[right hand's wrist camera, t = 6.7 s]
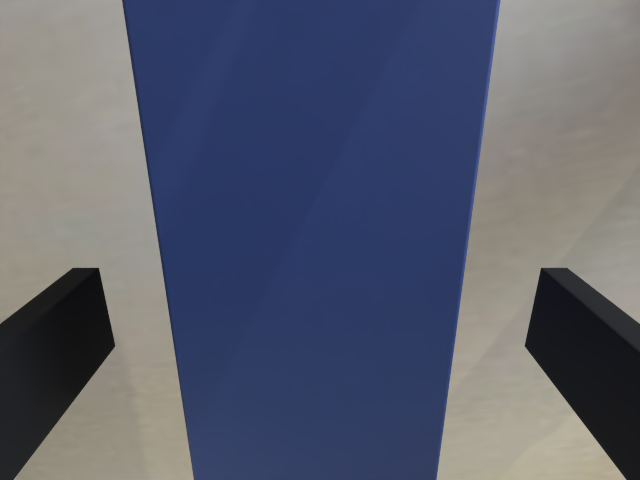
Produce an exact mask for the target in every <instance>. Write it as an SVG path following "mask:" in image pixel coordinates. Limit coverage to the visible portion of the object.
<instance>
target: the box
mask: <svg viewBox="0 0 640 480" xmlns="http://www.w3.org/2000/svg"><path fill="white" fill-rule="evenodd" d="M122 2H123V9H124V15H125V22H126V29H127V35H128V42H129V49H130V55H131V62H132V69H133V75H134V82H135V89H136V96H137V102H138V109H139V116H140V122H141V129H142V136H143V142H144V149H145V156H146V162H147V169H148V176H149V182H150V189H151V196H152V202H153V209H154V216H155V222H156V229H157V236H158V242H159V249H160V256H161V262H162V269H163V276H164V282H165V289H166V296H167V302H168V309H169V316H170V322H171V329H172V336H173V342H174V349H175V356H176V362H177V369H178V376H179V382H180V389H181V396H182V402H183V409H184V416H185V422H186V429H187V436H188V442H189V449H190V456H191V462H192V469H193V476H194V480H436V479H437V471H438V464H439V456H440V449H441V441H442V434H443V426H444V419H445V411H446V404H447V396H448V389H449V381H450V374H451V366H452V359H453V351H454V344H455V336H456V329H457V321H458V314H459V306H460V299H461V291H462V284H463V276H464V269H465V261H466V254H467V246H468V239H469V231H470V224H471V216H472V209H473V201H474V194H475V186H476V179H477V171H478V164H479V156H480V149H481V141H482V134H483V126H484V119H485V111H486V104H487V96H488V89H489V81H490V74H491V66H492V59H493V51H494V44H495V36H496V29H497V21H498V14H499V6H500V0H122Z"/></svg>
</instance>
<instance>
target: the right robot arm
mask: <svg viewBox="0 0 640 480" xmlns="http://www.w3.org/2000/svg"><path fill="white" fill-rule="evenodd" d="M114 347H115V343H114V338H113V333H112V328H111V324H110V319H109V314H108V309H107V305H106V300H105V295H104V290H103V286H102V281H101V276H100V271H99V268H72V269H71V270H70V271H68V272H67V273H66V274H64V275H63V276H62V277H61V278H59V279H58V280H57V281H55V282H54V283H53V284H52V285H50V286H49V287H48V288H46V289H45V290H44V291H42V292H41V293H40V294H39V295H37V296H36V297H35V298H33V299H32V300H31V301H29V302H28V303H27V304H26V305H24V306H23V307H22V308H20V309H19V310H18V311H17V312H15V313H14V314H13V315H11V316H10V317H9V318H7V319H6V320H5V321H4V322H2V323H1V324H0V480H14V478H15V477H16V476H17V474H18V473H19V472H20V470H21V469H22V468H23V466H24V465H25V464H26V462H27V461H28V460H29V459H30V457H31V456H32V455H33V453H34V452H35V451H36V449H37V448H38V447H39V445H40V444H41V443H42V441H43V440H44V439H45V438H46V436H47V435H48V434H49V432H50V431H51V430H52V428H53V427H54V426H55V424H56V423H57V422H58V421H59V419H60V418H61V417H62V415H63V414H64V413H65V411H66V410H67V409H68V407H69V406H70V405H71V403H72V402H73V401H74V400H75V398H76V397H77V396H78V394H79V393H80V392H81V390H82V389H83V388H84V386H85V385H86V384H87V382H88V381H89V380H90V379H91V377H92V376H93V375H94V373H95V372H96V371H97V369H98V368H99V367H100V365H101V364H102V363H103V361H104V360H105V359H106V358H107V356H108V355H109V354H110V352H111V351H112V350H113V348H114ZM525 347H526V348H527V350H528V351H529V352H530V354H531V355H532V356H533V358H534V359H535V360H536V361H537V363H538V364H539V365H540V367H541V368H542V369H543V371H544V372H545V373H546V375H547V376H548V377H549V379H550V380H551V381H552V382H553V384H554V385H555V386H556V388H557V389H558V390H559V392H560V393H561V394H562V396H563V397H564V398H565V400H566V401H567V402H568V403H569V405H570V406H571V407H572V409H573V410H574V411H575V413H576V414H577V415H578V417H579V418H580V419H581V421H582V422H583V423H584V424H585V426H586V427H587V428H588V430H589V431H590V432H591V434H592V435H593V436H594V438H595V439H596V440H597V442H598V443H599V444H600V445H601V447H602V448H603V449H604V451H605V452H606V453H607V455H608V456H609V457H610V459H611V460H612V461H613V462H614V464H615V465H616V466H617V468H618V469H619V470H620V472H621V473H622V474H623V476H624V477H625V478H626V480H640V324H639V323H638V322H636V321H635V320H634V319H633V318H631V317H630V316H629V315H627V314H626V313H625V312H623V311H622V310H621V309H620V308H618V307H617V306H616V305H614V304H613V303H612V302H611V301H609V300H608V299H607V298H605V297H604V296H603V295H601V294H600V293H599V292H598V291H596V290H595V289H594V288H592V287H591V286H590V285H588V284H587V283H586V282H585V281H583V280H582V279H581V278H579V277H578V276H577V275H576V274H574V273H573V272H572V271H570V270H569V269H568V268H541V271H540V276H539V281H538V286H537V290H536V295H535V300H534V305H533V309H532V314H531V319H530V324H529V328H528V333H527V338H526V343H525Z"/></svg>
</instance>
